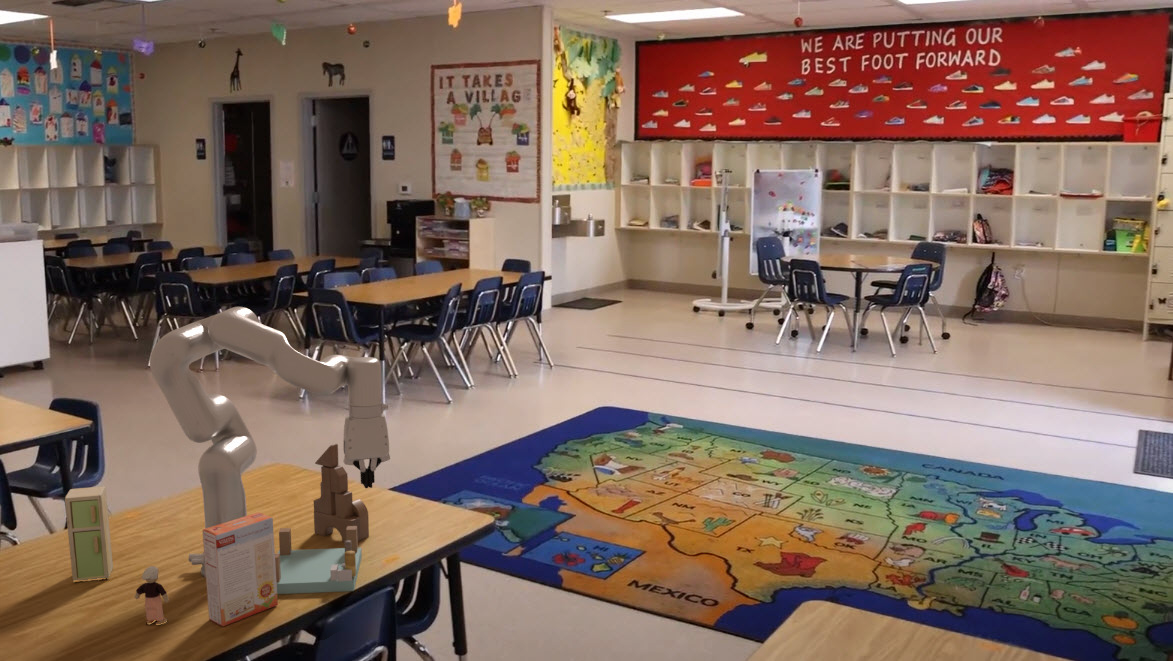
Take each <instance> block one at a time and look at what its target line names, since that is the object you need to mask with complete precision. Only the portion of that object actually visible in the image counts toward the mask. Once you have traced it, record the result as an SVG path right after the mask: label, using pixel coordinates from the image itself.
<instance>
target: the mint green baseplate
mask: <svg viewBox="0 0 1173 661" xmlns="http://www.w3.org/2000/svg"><path fill="white" fill-rule="evenodd" d="M291 530H292V528H291V527H289V528H288V527H287V528H283V527H282V528H280V529H279V532H278V537H279V538H278V543H279V550H278V551H277V553H275V565H276V582H277V595H284V594H285V595H287V594H288V595H290V594H291V595H292V594H313V593H315V594H316V593H334V592H335V593H336V592H341V593H342V592H354V591H355V588H356V583H357V579H358V576H359V575H358V574H359V570H360V566H361V562H362V556H363V553H362V547H359V545H358V538H357V526H347V529H346V539H347V540H350V541H351V545H352V551H355V559H356V576H354V577H352V569H347V570H345V547H341V548H339V547H337V548H336V547H335V548H316V549H315V548H313V549H292V534H291V533H292V531H291Z"/></svg>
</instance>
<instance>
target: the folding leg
mask: <svg viewBox="0 0 1173 661" xmlns="http://www.w3.org/2000/svg"><path fill="white" fill-rule="evenodd" d="M344 548H345V570H347V569H352V577H354V576H356V559H355V551H352V545H351V541H350V540H347V541H345V542H344Z"/></svg>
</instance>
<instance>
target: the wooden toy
mask: <svg viewBox="0 0 1173 661" xmlns="http://www.w3.org/2000/svg"><path fill="white" fill-rule="evenodd" d="M315 465H317V466H320V469H321V474H320V475H321V481H320V483H319V484H320V497H319V498H316V499H314V500H313V521H314V522H313V526H314V534H315V535H319V536H323V537H325V536H328V535H331V534H333V533H334V529H336V530H337V531H338V533H339V535H340V536H341V541H342V542H343V543H345V541H347V539H346V529H347V526H357V538H358V542H360V541H362V540H364V539H366V538H368V537H370V531H369V530H370V528H369V525H370V524H369V511H368V507H367V506H366V504H365V503H364V502H363V501H362V500H361V499H359V498H357V499H355V500H353V492H352V491H349V483H348V481H349V480H348V479H349V478H348V472H347V471H346V469H345V468H344V467H343V465H339V445H338V443H334V444H331V445H329V447H328V448H327V449H326V450H325V451H324V452H323V453H322V454H321V455H320V457H319V458H318V459H317V460H316V461H315Z"/></svg>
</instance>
